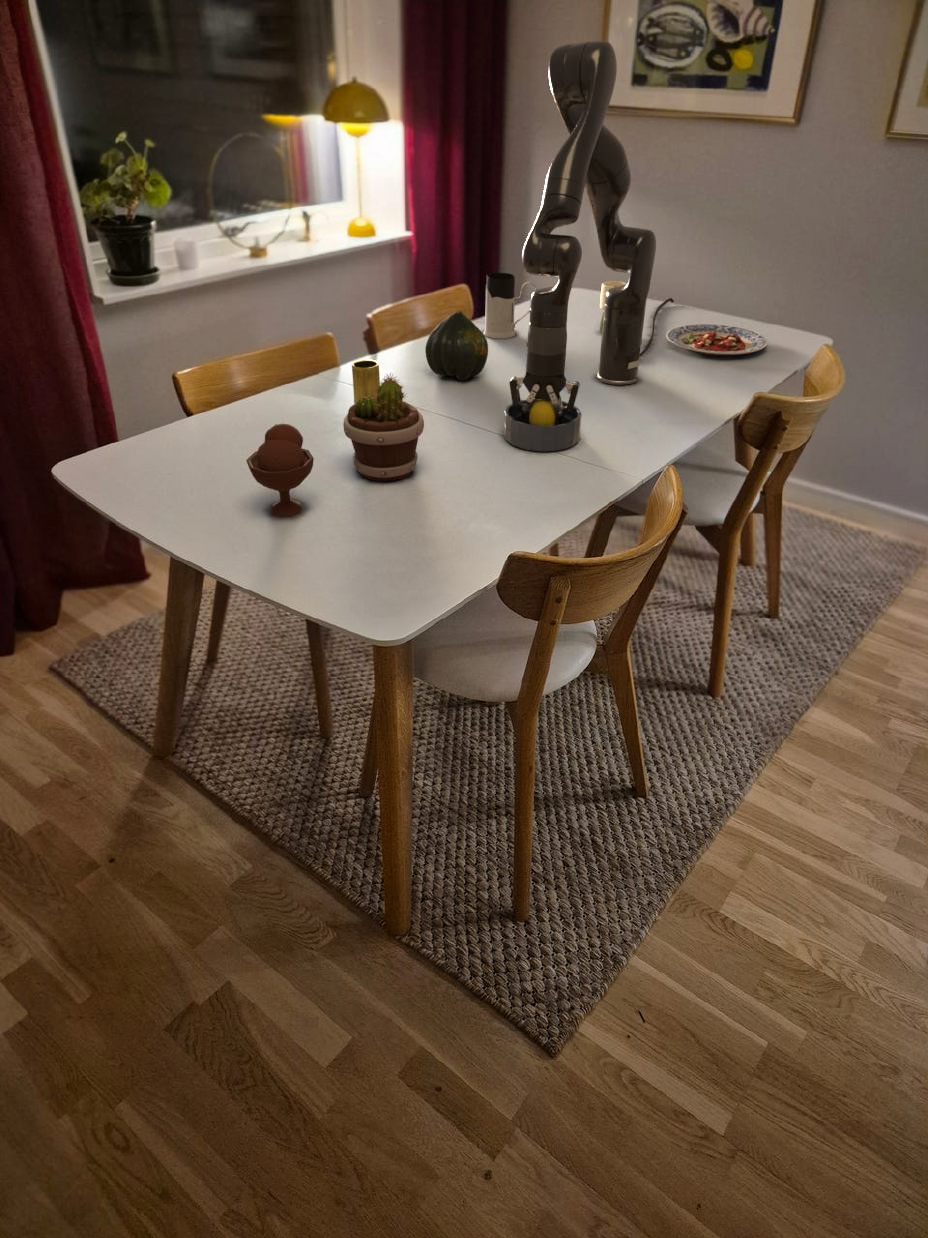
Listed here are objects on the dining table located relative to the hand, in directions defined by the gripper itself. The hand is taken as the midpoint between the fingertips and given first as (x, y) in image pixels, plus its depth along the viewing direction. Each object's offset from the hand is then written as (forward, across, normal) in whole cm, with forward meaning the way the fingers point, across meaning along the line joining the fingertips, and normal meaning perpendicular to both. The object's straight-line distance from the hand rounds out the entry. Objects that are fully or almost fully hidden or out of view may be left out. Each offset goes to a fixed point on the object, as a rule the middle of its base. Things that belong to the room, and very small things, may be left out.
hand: (541, 430), depth 170 cm
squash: (+2, +26, -34) cm, 42 cm away
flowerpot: (+2, +26, +22) cm, 34 cm away
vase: (+2, +35, +6) cm, 35 cm away
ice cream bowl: (+2, +38, +42) cm, 56 cm away
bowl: (+2, 0, 0) cm, 2 cm away
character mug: (+2, -7, -76) cm, 77 cm away
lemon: (+1, 0, 0) cm, 1 cm away
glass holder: (+2, +20, -70) cm, 72 cm away
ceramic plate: (+2, -35, -72) cm, 80 cm away
